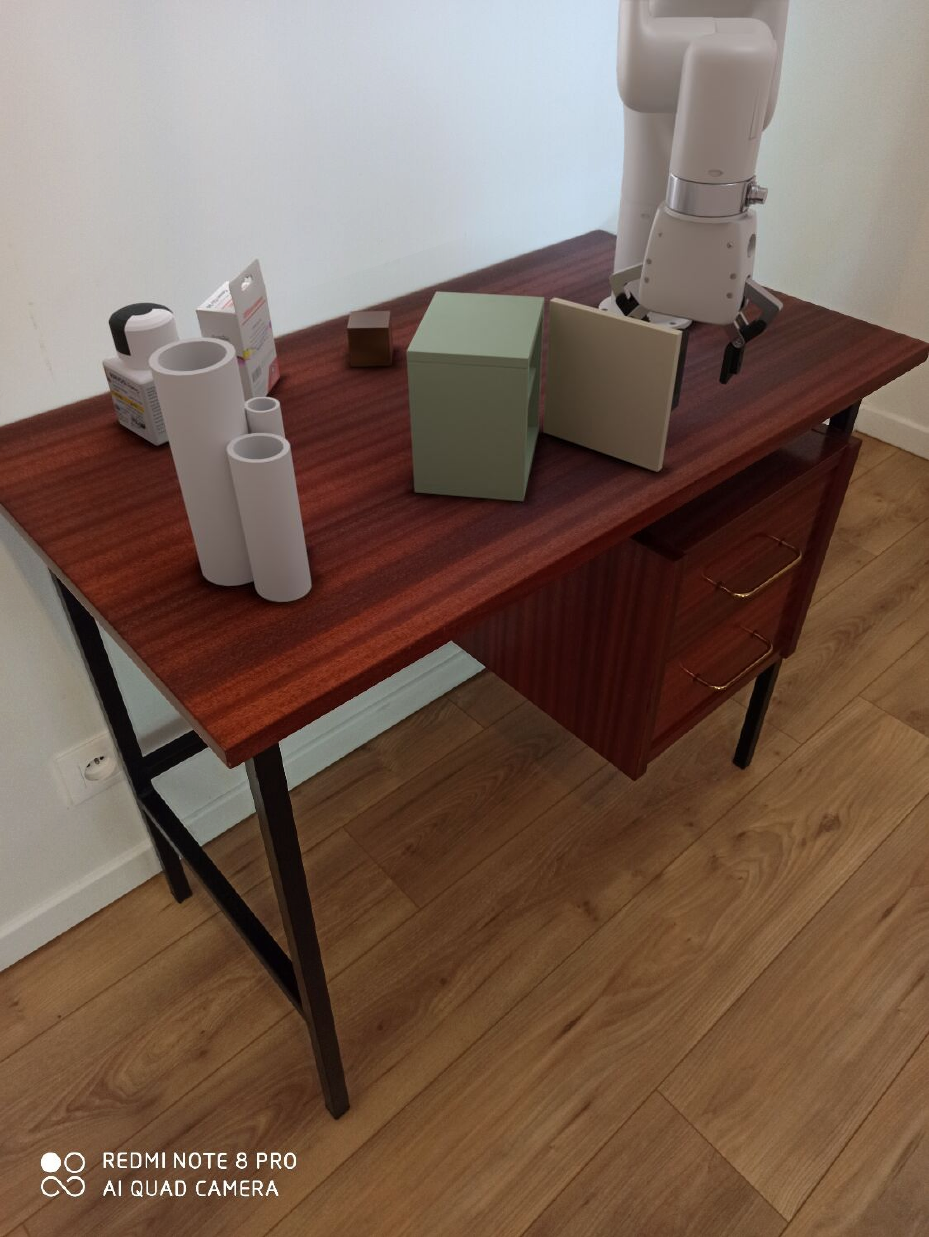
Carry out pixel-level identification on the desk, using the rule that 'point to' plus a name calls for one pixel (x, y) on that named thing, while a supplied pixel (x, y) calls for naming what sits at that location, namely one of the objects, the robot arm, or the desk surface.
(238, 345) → the ink cartridge box
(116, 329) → the container
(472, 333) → the cupboard
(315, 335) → the desk surface
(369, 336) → the block
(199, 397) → the vase
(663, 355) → the cupboard door
